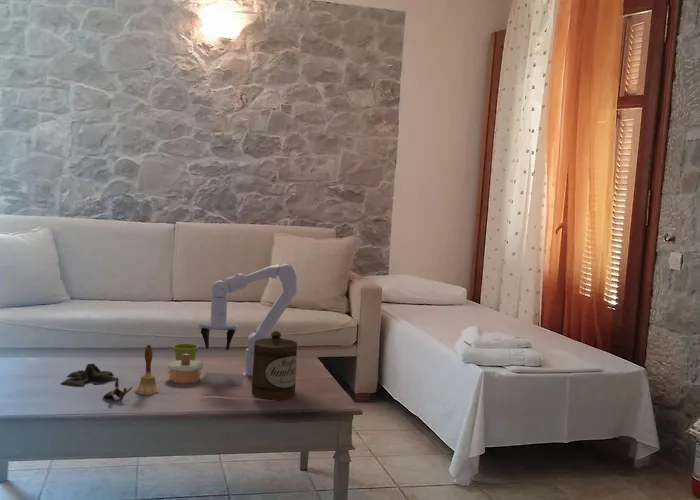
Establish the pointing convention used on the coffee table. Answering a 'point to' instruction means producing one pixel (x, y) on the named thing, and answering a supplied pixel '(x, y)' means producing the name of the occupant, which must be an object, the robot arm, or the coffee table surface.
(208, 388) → the coffee table surface
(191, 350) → the plant pot
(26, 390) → the coffee table surface
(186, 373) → the bowl
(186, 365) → the lid
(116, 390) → the eagle figurine
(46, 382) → the coffee table surface
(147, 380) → the hand bell
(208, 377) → the mat
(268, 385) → the wooden container
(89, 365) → the cloth
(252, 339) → the robot arm
